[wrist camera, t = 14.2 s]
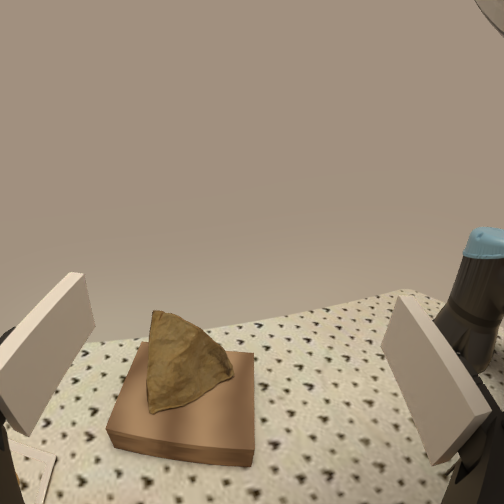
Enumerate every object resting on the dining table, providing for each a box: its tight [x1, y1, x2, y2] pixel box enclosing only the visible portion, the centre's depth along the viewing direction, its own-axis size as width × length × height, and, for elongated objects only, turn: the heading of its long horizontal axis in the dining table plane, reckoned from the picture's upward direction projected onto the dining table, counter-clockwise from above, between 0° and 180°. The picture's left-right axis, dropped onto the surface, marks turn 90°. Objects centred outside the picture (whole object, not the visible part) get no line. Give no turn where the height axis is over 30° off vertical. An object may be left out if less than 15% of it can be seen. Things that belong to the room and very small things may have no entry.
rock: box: [146, 311, 235, 414], centre depth 31 cm, size 11×9×10 cm
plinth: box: [106, 342, 255, 467], centre depth 33 cm, size 15×15×4 cm
